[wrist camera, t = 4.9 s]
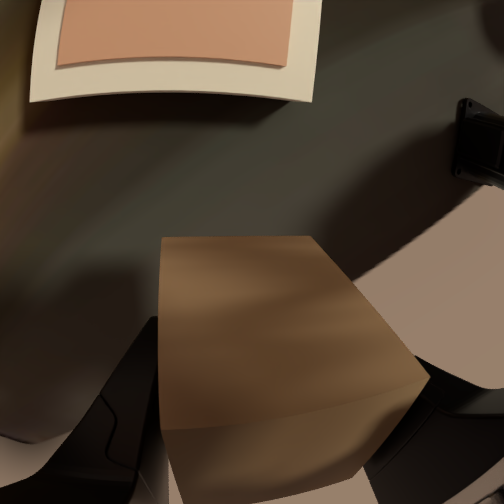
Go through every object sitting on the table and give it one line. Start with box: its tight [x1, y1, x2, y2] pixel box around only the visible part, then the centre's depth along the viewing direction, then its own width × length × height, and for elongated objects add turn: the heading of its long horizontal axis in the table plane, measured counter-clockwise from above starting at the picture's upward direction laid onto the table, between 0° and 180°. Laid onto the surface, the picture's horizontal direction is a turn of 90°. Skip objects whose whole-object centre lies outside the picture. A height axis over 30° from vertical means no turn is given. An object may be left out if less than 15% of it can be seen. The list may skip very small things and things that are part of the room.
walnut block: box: [158, 236, 430, 504], centre depth 8 cm, size 4×4×6 cm
